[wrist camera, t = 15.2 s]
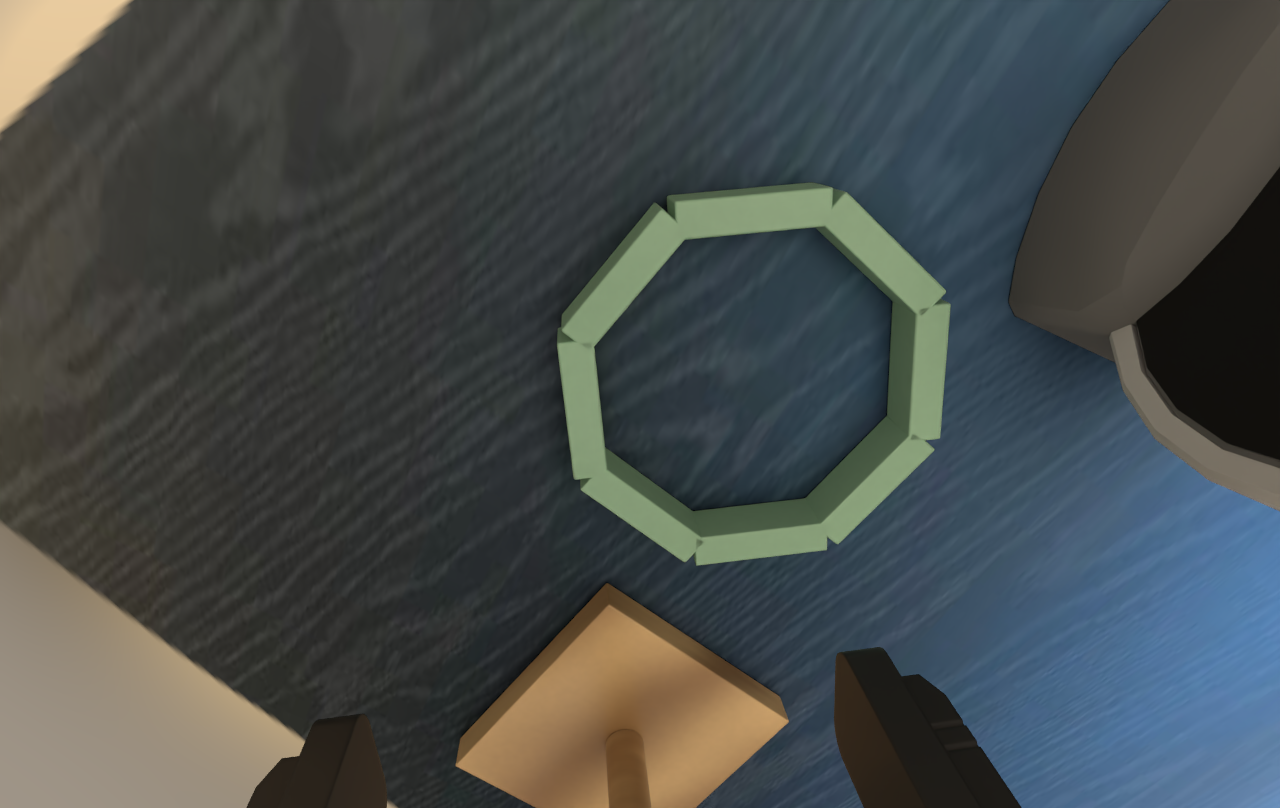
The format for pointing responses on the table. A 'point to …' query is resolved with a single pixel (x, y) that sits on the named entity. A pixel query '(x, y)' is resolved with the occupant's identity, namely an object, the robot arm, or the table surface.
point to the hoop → (859, 473)
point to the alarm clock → (1176, 237)
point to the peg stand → (620, 716)
